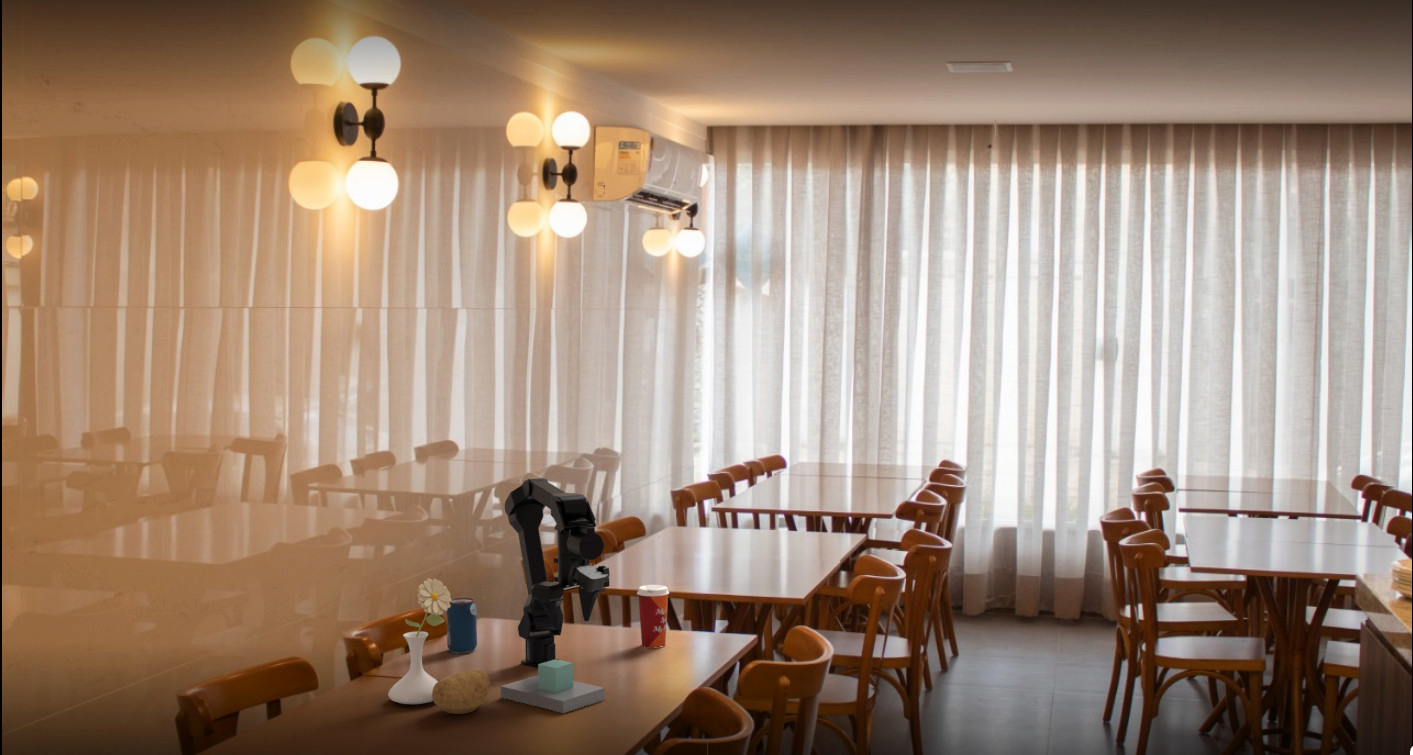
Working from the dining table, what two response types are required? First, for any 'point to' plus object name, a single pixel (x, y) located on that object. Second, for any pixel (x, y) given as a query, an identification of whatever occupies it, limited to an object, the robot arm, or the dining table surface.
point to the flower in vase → (421, 646)
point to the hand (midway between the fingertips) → (571, 624)
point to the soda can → (462, 625)
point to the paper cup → (653, 614)
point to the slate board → (553, 695)
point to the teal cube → (555, 675)
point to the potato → (461, 691)
